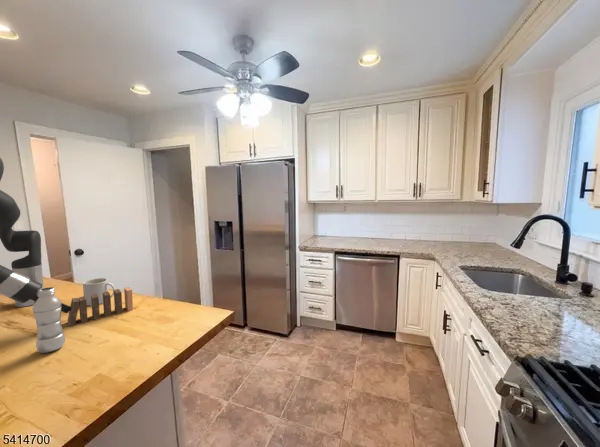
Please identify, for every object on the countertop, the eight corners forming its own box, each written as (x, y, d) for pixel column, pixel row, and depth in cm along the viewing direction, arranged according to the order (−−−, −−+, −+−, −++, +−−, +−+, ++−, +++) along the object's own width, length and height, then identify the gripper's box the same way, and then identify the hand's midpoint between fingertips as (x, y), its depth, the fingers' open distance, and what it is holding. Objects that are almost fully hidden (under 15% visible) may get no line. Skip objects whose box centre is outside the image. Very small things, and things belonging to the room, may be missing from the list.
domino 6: (128, 311, 109) (127, 290, 108) (125, 307, 113) (124, 287, 112) (132, 309, 110) (131, 289, 110) (129, 306, 114) (128, 286, 113)
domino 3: (94, 320, 101) (92, 298, 100) (92, 315, 104) (90, 294, 103) (100, 318, 102) (98, 297, 101) (97, 314, 106) (96, 293, 105)
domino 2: (81, 323, 98) (80, 300, 97) (80, 319, 102) (78, 297, 101) (87, 321, 99) (86, 299, 99) (86, 317, 103) (84, 296, 102)
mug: (79, 303, 116) (78, 282, 115) (102, 296, 125) (101, 276, 124) (94, 308, 112) (93, 286, 111) (117, 300, 120) (115, 279, 120)
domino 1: (68, 325, 95) (73, 301, 96) (67, 321, 99) (72, 298, 99) (74, 325, 97) (79, 301, 97) (73, 320, 100) (78, 297, 101)
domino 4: (106, 316, 104) (104, 295, 103) (103, 313, 107) (102, 292, 106) (111, 315, 105) (110, 294, 104) (109, 311, 108) (107, 291, 108)
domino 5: (117, 313, 106) (116, 293, 106) (114, 310, 110) (113, 290, 109) (122, 312, 108) (121, 292, 107) (119, 308, 111) (118, 289, 110)
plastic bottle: (70, 346, 83) (65, 286, 81) (44, 358, 77) (38, 294, 75) (58, 342, 85) (53, 284, 83) (31, 353, 79) (25, 291, 77)
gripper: (28, 282, 84) (79, 307, 94) (29, 273, 93) (76, 297, 103) (5, 302, 81) (61, 325, 91) (8, 291, 90) (59, 313, 100)
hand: (69, 310), depth 97 cm, fingers closed
